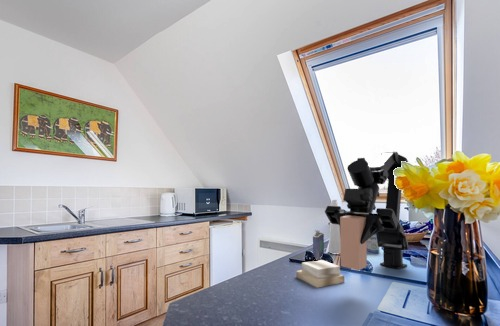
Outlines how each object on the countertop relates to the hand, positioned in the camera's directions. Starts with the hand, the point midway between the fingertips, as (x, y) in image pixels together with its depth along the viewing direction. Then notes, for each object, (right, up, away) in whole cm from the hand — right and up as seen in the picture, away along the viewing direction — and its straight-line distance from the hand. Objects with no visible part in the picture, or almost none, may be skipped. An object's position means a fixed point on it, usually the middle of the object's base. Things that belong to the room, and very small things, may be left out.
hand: (351, 241), depth 76 cm
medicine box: (+24, -17, +46) cm, 54 cm away
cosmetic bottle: (+9, -17, +43) cm, 47 cm away
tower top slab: (-5, -12, +11) cm, 17 cm away
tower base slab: (-6, -15, +11) cm, 19 cm away
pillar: (+1, -7, +1) cm, 7 cm away
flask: (0, -16, +35) cm, 39 cm away
